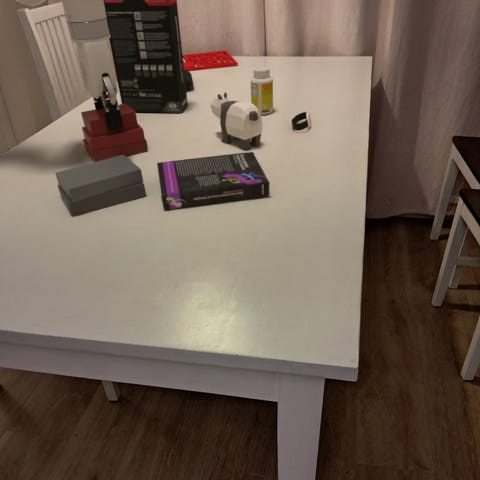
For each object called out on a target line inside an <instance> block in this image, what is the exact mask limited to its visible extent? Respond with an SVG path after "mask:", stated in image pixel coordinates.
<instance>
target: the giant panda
mask: <svg viewBox="0 0 480 480" xmlns="http://www.w3.org/2000/svg"><path fill="white" fill-rule="evenodd" d="M209 105H210V106H209V107H210V109H211V113H212V114H213V115H214V116H215V117H216V118H218V119H219V120H220V122H219V124H220V130H221V136H222V137H221V140H220V141H221V143H224V144H231V143H232V142H233V140H232V138H233V139H235V140H236V139H237V140H239V141H240V144H239V146H238V148H239V149H241V150H244V151H247V150H249V149H250V148H251V147H250V145H251V146H255V147H257V146H259V145H261V137H262V132H263V118H262V115H261V114H260V112H259V110H258V109H257V107H256V106H255V105H254V104H252V103H251V102H249V101H237V100H230V99H229V98H228V93H227V92H226V91H224V93H223V95H221V94H220V93H218V94H217V96H216V97H214V98H213V101H212V102H210V104H209Z"/></svg>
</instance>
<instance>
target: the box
mask: <svg viewBox="0 0 480 480" xmlns="http://www.w3.org/2000/svg"><path fill="white" fill-rule="evenodd" d="M156 166H157V173H158V180H159V187H160V188H159V189H160V198H161V203H162V208H163V210H164V211H167V210H168V211H169V210H175V209H182V208H188V207H196V206H204V205H213V204H220V203H227V202H235V201H241V200H250V199H257V198H263V197H269V196H270V183H271V181H270V180H269V179H268V177H267V176H266V173H265V172H264V169H263V168H262V166H261V164H260V162H259V161H258V159H257V157H256V155H255V152H254V151H248V152H239V153H230V154H220V155H212V156H202V157H194V158H186V159H185V158H184V159H179V160H178V159H177V160H168V161H160V162H157V163H156Z"/></svg>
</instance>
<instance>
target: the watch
mask: <svg viewBox="0 0 480 480" xmlns="http://www.w3.org/2000/svg"><path fill="white" fill-rule="evenodd" d="M303 120H304V121H303ZM301 121H302V122H301ZM291 125H292V128H293V130H294V131H304V130H305V129H307V128H311V127H312V118H311V114H310V112H309V111H308V110H307V111H303V112H299V113H298V114H296V115H295V116H294V117H293V118H292V119H291Z"/></svg>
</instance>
